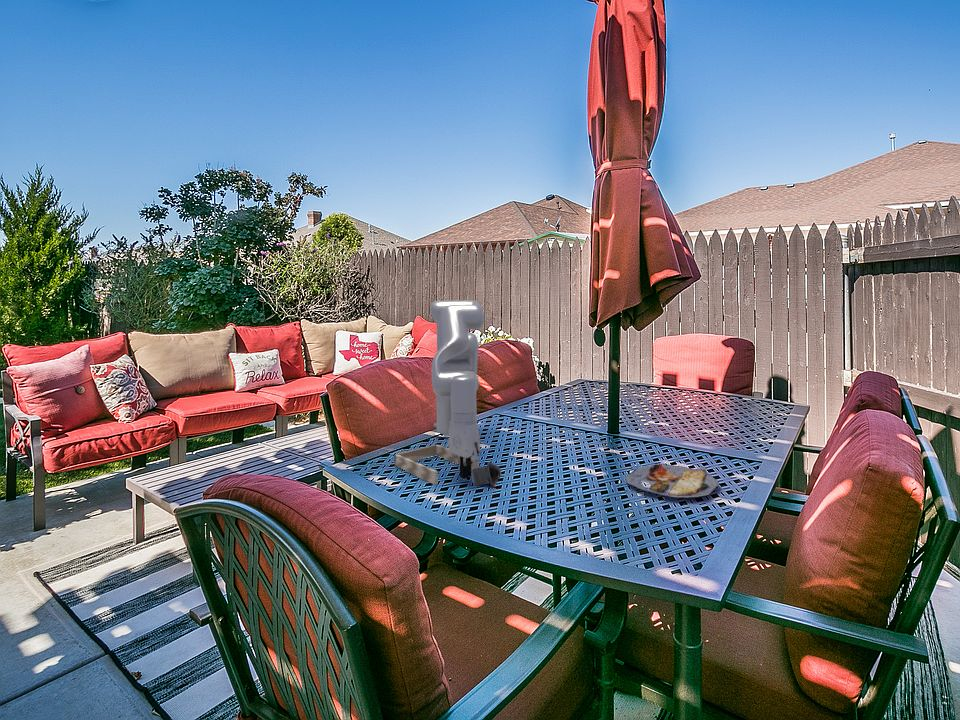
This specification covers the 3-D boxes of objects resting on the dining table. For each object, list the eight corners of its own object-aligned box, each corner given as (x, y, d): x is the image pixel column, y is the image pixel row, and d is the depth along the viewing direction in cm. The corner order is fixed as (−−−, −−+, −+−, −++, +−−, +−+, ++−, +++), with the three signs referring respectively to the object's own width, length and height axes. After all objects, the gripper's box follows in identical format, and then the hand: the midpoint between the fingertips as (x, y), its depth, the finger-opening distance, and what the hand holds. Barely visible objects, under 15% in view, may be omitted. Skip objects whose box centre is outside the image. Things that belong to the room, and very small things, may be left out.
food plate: (648, 465, 163) (648, 455, 162) (726, 481, 148) (727, 469, 147) (614, 491, 143) (614, 479, 143) (701, 512, 129) (701, 499, 128)
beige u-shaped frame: (394, 466, 167) (394, 454, 167) (437, 455, 178) (436, 444, 178) (435, 484, 150) (434, 471, 149) (479, 471, 161) (478, 459, 160)
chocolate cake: (480, 474, 160) (465, 456, 152) (501, 469, 158) (487, 450, 150) (481, 502, 154) (466, 485, 145) (503, 497, 152) (489, 480, 143)
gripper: (438, 415, 153) (440, 473, 155) (470, 423, 142) (471, 486, 144) (458, 411, 158) (460, 468, 160) (490, 419, 147) (491, 480, 149)
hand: (465, 476), depth 152 cm, fingers closed
